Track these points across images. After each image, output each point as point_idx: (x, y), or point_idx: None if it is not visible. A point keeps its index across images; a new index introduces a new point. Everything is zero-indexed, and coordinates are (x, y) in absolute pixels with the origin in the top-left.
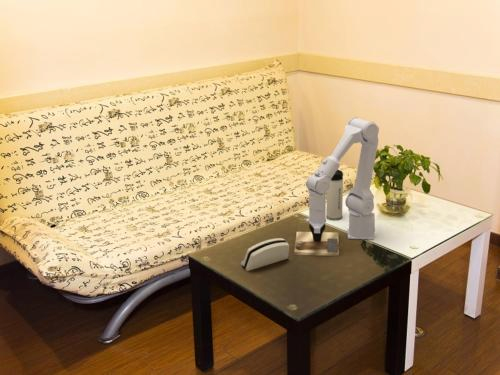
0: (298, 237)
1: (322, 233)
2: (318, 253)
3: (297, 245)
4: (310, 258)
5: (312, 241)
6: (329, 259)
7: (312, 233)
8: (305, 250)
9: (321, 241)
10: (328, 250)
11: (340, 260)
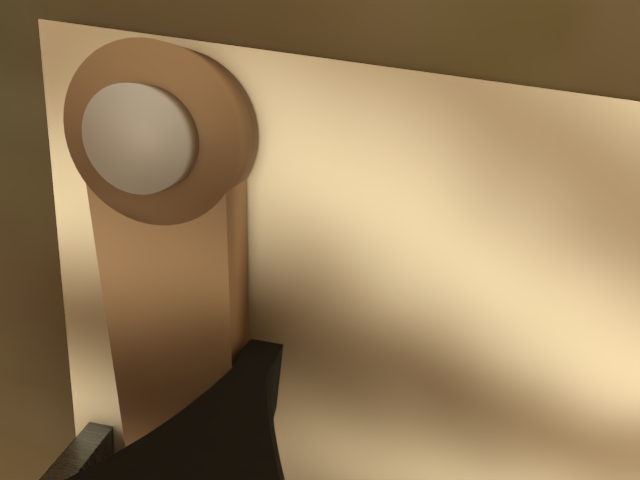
0: (565, 137)
1: (601, 472)
2: (71, 332)
3: (77, 75)
4: (7, 227)
5: (228, 336)
6: (21, 398)
7: (121, 453)
8: None
9: None
10: (73, 448)
11: (19, 472)
